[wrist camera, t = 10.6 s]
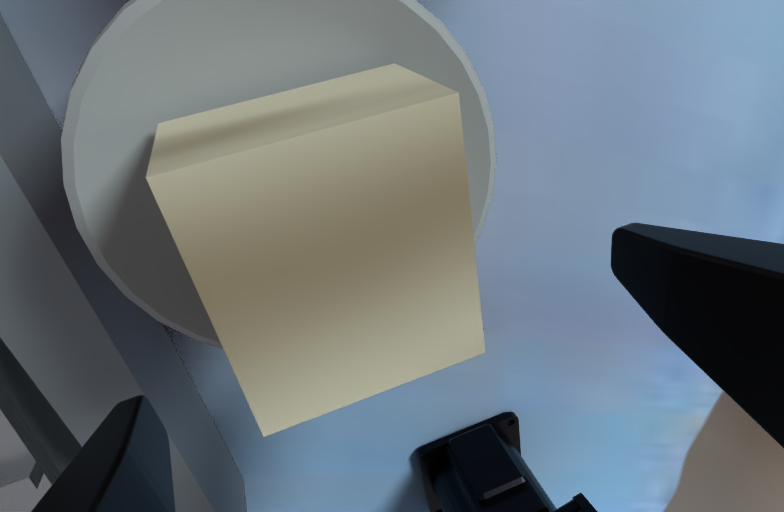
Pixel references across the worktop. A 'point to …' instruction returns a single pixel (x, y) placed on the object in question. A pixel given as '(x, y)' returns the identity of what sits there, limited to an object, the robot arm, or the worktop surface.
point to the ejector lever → (21, 461)
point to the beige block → (327, 237)
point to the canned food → (223, 88)
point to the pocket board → (83, 316)
